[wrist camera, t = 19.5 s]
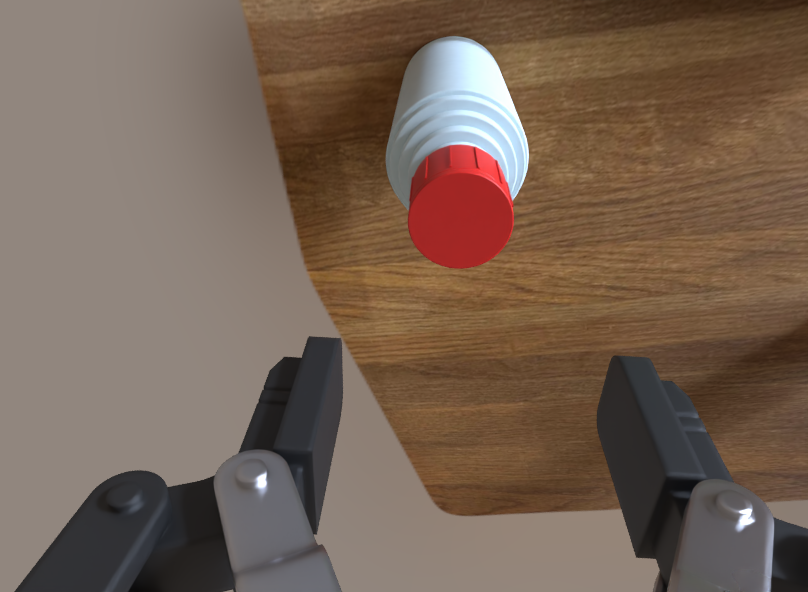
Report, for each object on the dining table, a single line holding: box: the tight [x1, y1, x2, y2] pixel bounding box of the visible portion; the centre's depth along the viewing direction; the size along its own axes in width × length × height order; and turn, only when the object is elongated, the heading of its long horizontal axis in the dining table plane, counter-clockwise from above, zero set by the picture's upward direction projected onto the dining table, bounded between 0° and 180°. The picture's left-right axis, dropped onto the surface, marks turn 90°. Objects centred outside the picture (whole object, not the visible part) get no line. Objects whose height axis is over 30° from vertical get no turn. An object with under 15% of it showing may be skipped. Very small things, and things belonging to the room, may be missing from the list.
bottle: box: [386, 36, 529, 210], centre depth 31 cm, size 6×6×20 cm
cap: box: [408, 144, 514, 269], centre depth 23 cm, size 4×4×3 cm
